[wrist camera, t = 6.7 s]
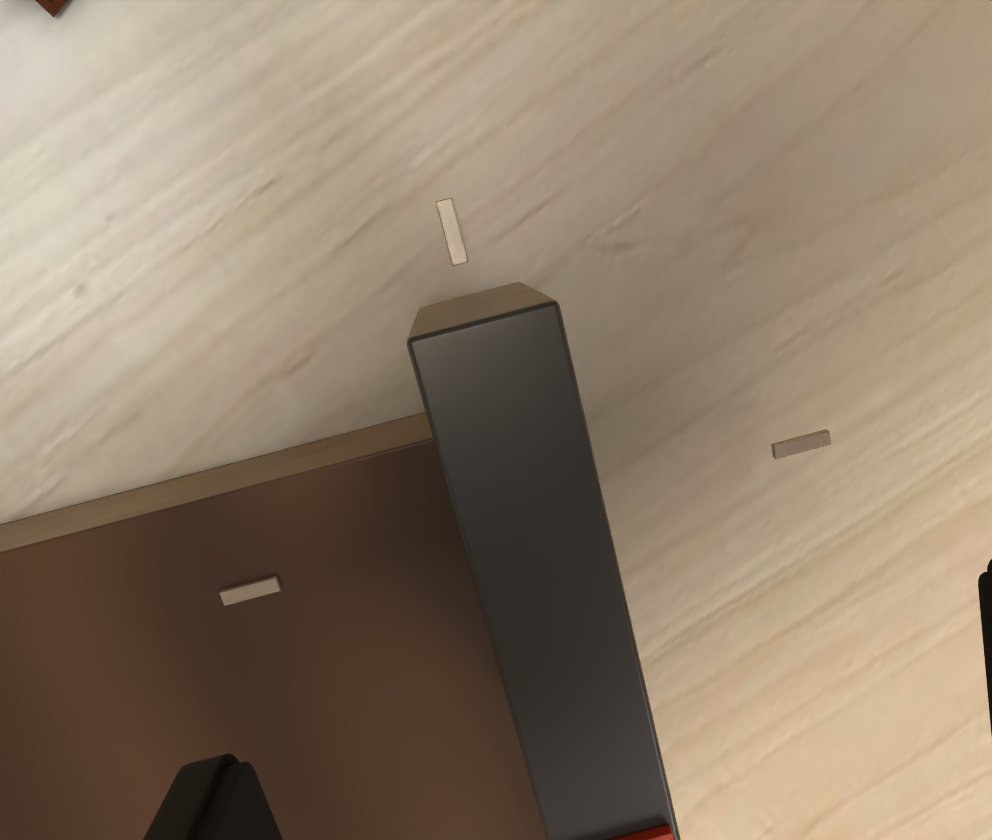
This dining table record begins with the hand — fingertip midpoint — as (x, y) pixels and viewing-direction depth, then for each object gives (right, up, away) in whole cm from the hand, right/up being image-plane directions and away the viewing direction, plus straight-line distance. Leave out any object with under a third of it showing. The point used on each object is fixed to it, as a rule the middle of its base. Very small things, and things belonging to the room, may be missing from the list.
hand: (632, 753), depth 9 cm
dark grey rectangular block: (-1, +2, +9) cm, 9 cm away
